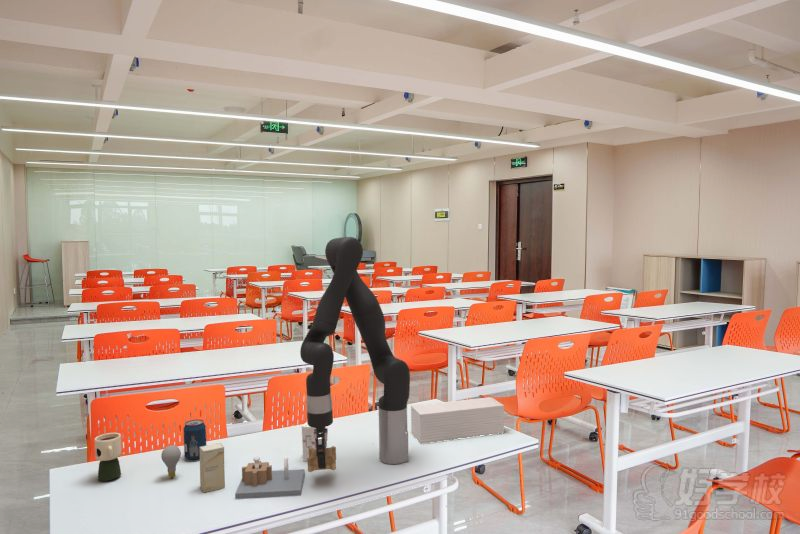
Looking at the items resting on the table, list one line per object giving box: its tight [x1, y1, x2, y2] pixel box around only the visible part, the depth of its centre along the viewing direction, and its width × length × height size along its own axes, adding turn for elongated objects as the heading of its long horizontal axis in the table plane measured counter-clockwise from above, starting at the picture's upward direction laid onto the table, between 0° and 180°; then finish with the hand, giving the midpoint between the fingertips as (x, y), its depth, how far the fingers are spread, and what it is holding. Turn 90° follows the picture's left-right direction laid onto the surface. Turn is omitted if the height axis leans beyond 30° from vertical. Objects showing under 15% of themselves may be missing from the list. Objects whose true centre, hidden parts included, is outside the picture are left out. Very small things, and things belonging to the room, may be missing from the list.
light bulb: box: [160, 444, 182, 479], centre depth 169 cm, size 6×5×10 cm
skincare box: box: [199, 442, 226, 493], centre depth 162 cm, size 6×4×12 cm
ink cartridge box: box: [301, 421, 316, 462], centre depth 183 cm, size 9×5×15 cm, turn 168°
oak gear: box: [306, 445, 337, 473], centre depth 166 cm, size 8×8×4 cm
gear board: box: [234, 456, 306, 500], centre depth 163 cm, size 18×14×8 cm
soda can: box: [183, 419, 207, 462], centre depth 184 cm, size 7×7×12 cm
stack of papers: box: [410, 396, 505, 445], centre depth 203 cm, size 32×11×11 cm, turn 107°
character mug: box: [94, 432, 123, 482], centre depth 169 cm, size 11×7×13 cm, turn 34°
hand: (322, 463), depth 166 cm, fingers closed on oak gear, 6 cm apart
